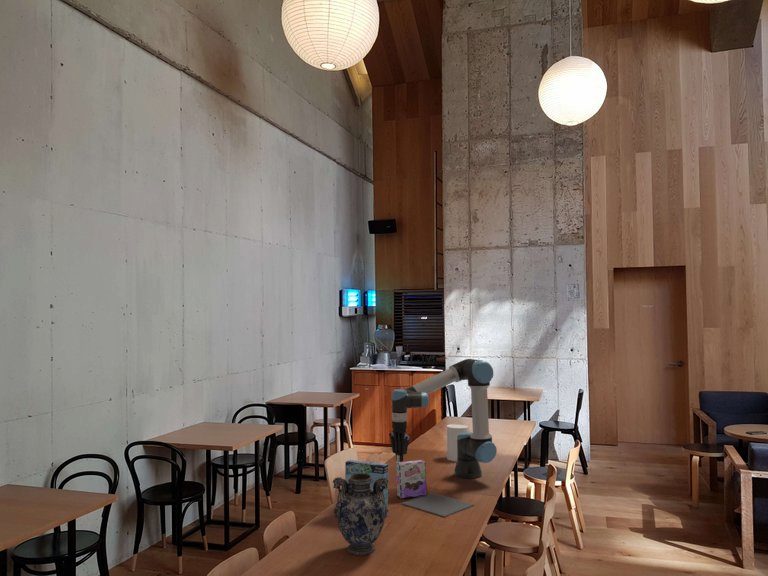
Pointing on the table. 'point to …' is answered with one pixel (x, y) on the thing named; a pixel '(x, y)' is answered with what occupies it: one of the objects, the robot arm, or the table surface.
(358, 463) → the blue cardboard box
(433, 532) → the table surface
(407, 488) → the candy box
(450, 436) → the canister
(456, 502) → the rubber mat
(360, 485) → the decorative vase
